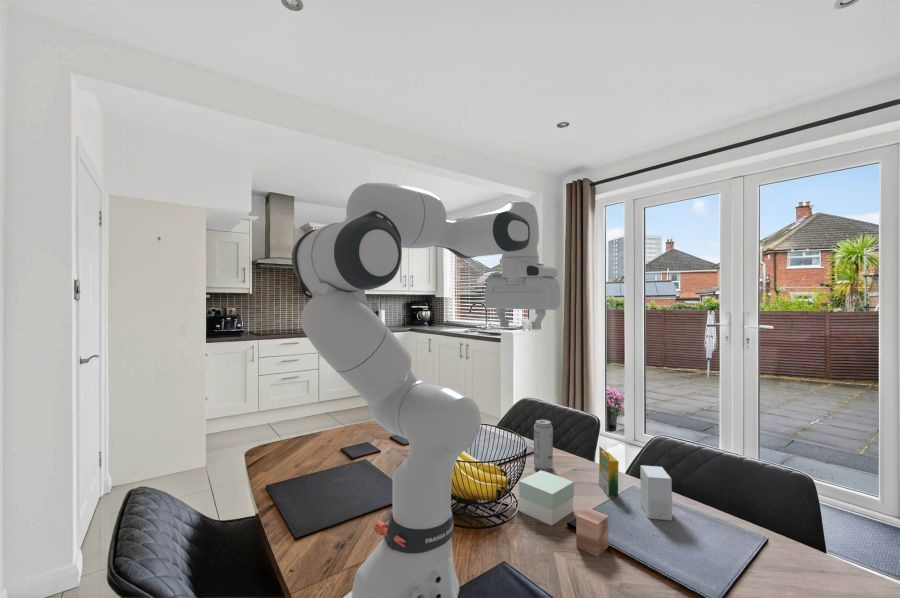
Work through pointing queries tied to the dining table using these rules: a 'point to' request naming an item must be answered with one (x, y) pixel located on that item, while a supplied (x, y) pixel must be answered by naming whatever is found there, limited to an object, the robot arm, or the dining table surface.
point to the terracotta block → (592, 531)
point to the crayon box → (608, 473)
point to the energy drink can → (543, 445)
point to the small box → (656, 492)
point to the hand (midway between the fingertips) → (519, 328)
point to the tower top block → (546, 489)
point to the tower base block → (545, 510)
